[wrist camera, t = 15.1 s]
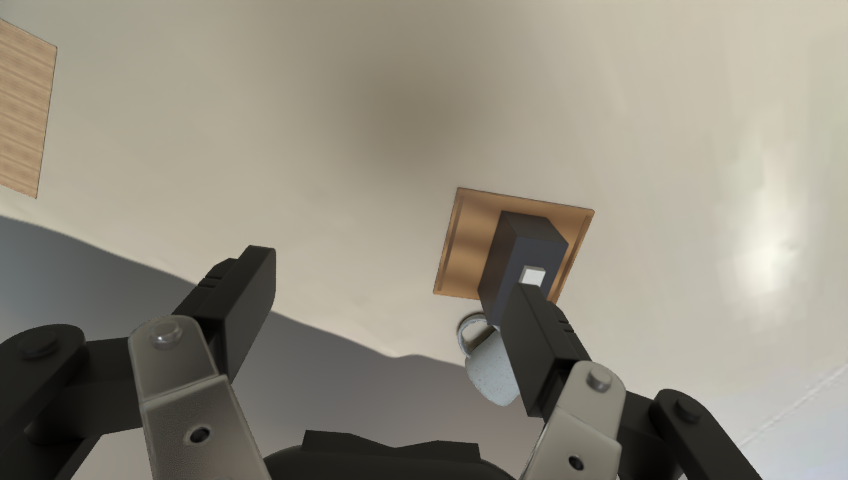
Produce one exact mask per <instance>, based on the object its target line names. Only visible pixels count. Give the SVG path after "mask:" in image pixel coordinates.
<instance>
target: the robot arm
mask: <svg viewBox="0 0 848 480" xmlns="http://www.w3.org/2000/svg"><path fill="white" fill-rule="evenodd" d="M275 292H276V251H275V249H274V248H268V247H261V246H253V245H249V246H248V247H247V248H246V249H245V251H244V252H243V253H242V254H241V256H240V257H239V258H238V259H233V258H228V259H226V260H224V261H222V262H220V263H219V264H217V265H215V266H214V267H213V268H212V269H211V270H210V271H209V272H208V273H207V275H206V276H205V278H203V279H202V280H201V281H200V282H199V284H198V286H196V287H195V288H194V289H193V290H192V291H191V293H190V294H189V295H188V296H187V297H186V298H185V299H184V300H183V302H182V303H181V304H180V305H179V306H178V307H177V308H176V309H175V311H174V312H173V313H172V314H171V315H167V316H161V317H158V318H154V319H152V320H149V321H147V322H145V323H143V324H141V325H140V326H139V327H137V328H136V329H134V331H133V332H132V333H131V334H130V336H129V337H124V338H116V339H107V340H97V341H87V342H86V340H85V336H84V333H83V332H82V330H81V329H80V328H78V327H76V326H72V325H67V324H53V325H46V326H41V327H36V328H33V329H29V330H26V331H24V332H21V333H19V334H17V335H14V336H12V337H11V338H9V339H7V340H6V341H4V342H3V343H1V344H0V480H70V479H71V478H72V476H73V475H74V474H75V472H76V471H77V470H78V468H79V467H80V465H81V464H82V463H83V461H84V460H85V458H86V457H87V456H88V454H89V453H90V451H91V450H92V449H93V447H94V446H95V444H96V443H97V441H98V440H99V439H100V437H101V436H102V435H104V434H109V433H114V432H119V431H125V430H130V429H135V428H140V427H143V429H144V435H145V440H146V445H147V451H148V455H149V461H150V466H151V471H152V477H153V480H516V479H515V478H513V477H512V476H510V474H508V473H507V472H506V471H504V470H503V469H501V468H499V467H497V466H496V465H494V464H492V463H490V462H488V461H486V460H483V459H481V458H480V453H479V447H478V444H477V443H463V442H452V441H439V440H437V441H431V442H426V443H421V444H415V445H409V446H404V447H398V448H393V447H389V446H386V445H383V444H380V443H377V442H374V441H371V440H368V439H365V438H362V437H359V436H356V435H353V434H350V433H338V432H325V431H313V430H306V432H305V435H304V439H303V443H302V445H298V446H293V447H289V448H286V449H283V450H280V451H278V452H275V453H273V454H271V455H269V456H267V457H265V458H262V456H261V454H260V451H259V449H258V447H257V444H256V442H255V440H254V437H253V435H252V433H251V431H250V428H249V426H248V424H247V421H246V419H245V417H244V414H243V412H242V409H241V407H240V405H239V402H238V400H237V398H236V395H235V393H234V391H233V388H232V386H231V384H232V382H233V380H234V378H235V377H236V375H237V373H238V371H239V369H240V367H241V365H242V363H243V361H244V359H245V357H246V355H247V354H248V351H249V350H250V348H251V346H252V344H253V342H254V340H255V338H256V336H257V334H258V332H259V331H260V329H261V327H262V325H263V323H264V321H265V319H266V317H267V315H268V313H269V311H270V309H271V307H272V305H273V302H274V298H275ZM500 333H501V337H502V340H503V343H504V346H505V349H506V352H507V355H508V358H509V361H510V364H511V367H512V370H513V373H514V376H515V379H516V382H517V385H518V388H519V391H520V394H521V397H522V400H523V403H524V406H525V409H526V412H527V415H528V416H529V417H540V418H543V419H544V422H545V425H544V426H543V428H542V430H541V433H540V435H539V437H538V439H537V441H536V443H535V446H534V448H533V450H532V452H531V455H530V457H529V459H528V461H527V463H526V465H525V468H524V470H523V472H522V474H521V476H520V478H519V480H616V477H617V474H618V476H619V478H620V480H678V479H679V478H680V477H681V475H682V474H683V473H684V474H685V475H686V477H687V479H688V480H763V479H762V478H761V477H760V476H759V474H758V473H757V472H756V470H755V469H754V468H753V467H752V465H751V464H750V463H749V462H748V460H747V459H746V458H745V456H744V455H743V454H742V453H741V451H740V450H739V449H738V448H737V446H736V445H735V444H734V442H733V441H732V440H731V439H730V437H729V436H728V435H727V433H726V432H725V431H724V430H723V428H722V427H721V426H720V425H719V423H718V422H717V421H716V419H715V418H714V417H713V416H712V414H711V413H710V412H709V411H708V410H707V409H706V408H705V407H704V406H703V405H702V404H700V403H699V402H698V401H696V400H695V399H693V398H692V397H690V396H688V395H686V394H684V393H682V392H680V391H677V390H673V389H663V390H661V391H659V392H658V394H657V395H656V397H655V398H654V400H652V399H649V398H646V397H643V396H640V395H638V394H635V393H632V392H629V391H627V390H626V388H625V386H624V384H623V382H622V381H621V380H620V378H619V377H618V376H617V375H616V374H615V373H613V372H612V371H611V370H609V369H608V368H606V367H605V366H603V365H601V364H598V363H596V362H592V360H591V358H590V357H589V355H588V353H587V352H586V350H585V348H584V347H583V345H582V343H581V342H580V340H579V338H578V337H577V335H576V333H574V330H573V328H572V327H571V325H570V324H569V322H568V320H567V318H566V317H565V315H564V313H563V312H562V311H561V310H560V309H559V308H558V307H557V306H556V305H555V304H554V303H553V302H551V301H547V300H546V298H545V296H544V294H543V293H542V291H541V289H540V287H539V286H538V285H534V284H527V283H520V282H516V283H514V285H513V286H512V289H511V291H510V294H509V297H508V300H507V303H506V306H505V309H504V311H503V314H502V317H501V322H500Z"/></svg>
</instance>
